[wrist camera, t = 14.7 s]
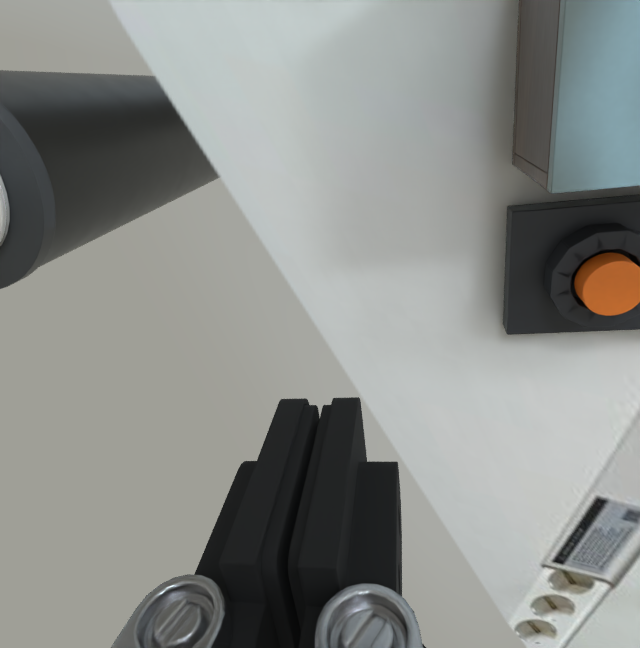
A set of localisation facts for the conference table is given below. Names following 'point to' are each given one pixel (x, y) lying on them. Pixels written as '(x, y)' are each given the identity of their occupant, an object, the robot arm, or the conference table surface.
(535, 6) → the brown open boxy piece
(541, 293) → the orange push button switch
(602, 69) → the hatch
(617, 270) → the button
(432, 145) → the conference table surface
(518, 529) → the conference table surface
